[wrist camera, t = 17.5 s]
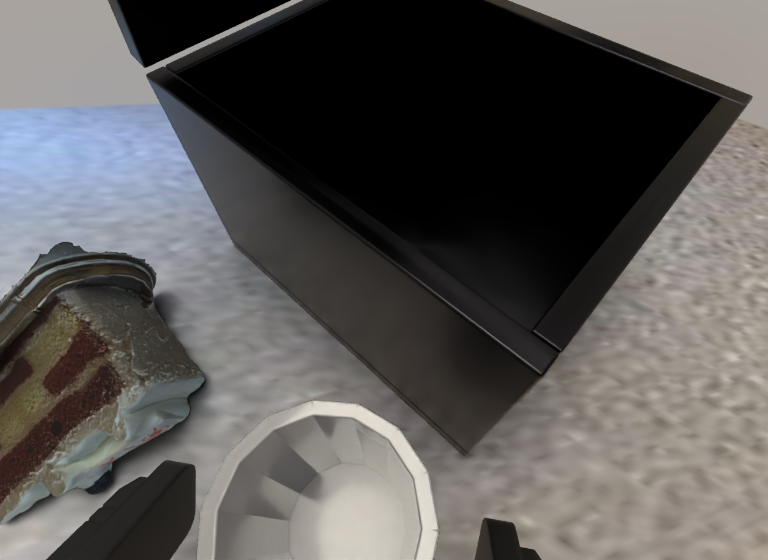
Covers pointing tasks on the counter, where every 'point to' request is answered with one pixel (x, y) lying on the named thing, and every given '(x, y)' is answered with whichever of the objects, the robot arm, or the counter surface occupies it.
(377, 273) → the black hollow box
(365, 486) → the cup
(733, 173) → the counter surface
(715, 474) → the counter surface
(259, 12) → the black box lid
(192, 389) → the checkered cake slice
